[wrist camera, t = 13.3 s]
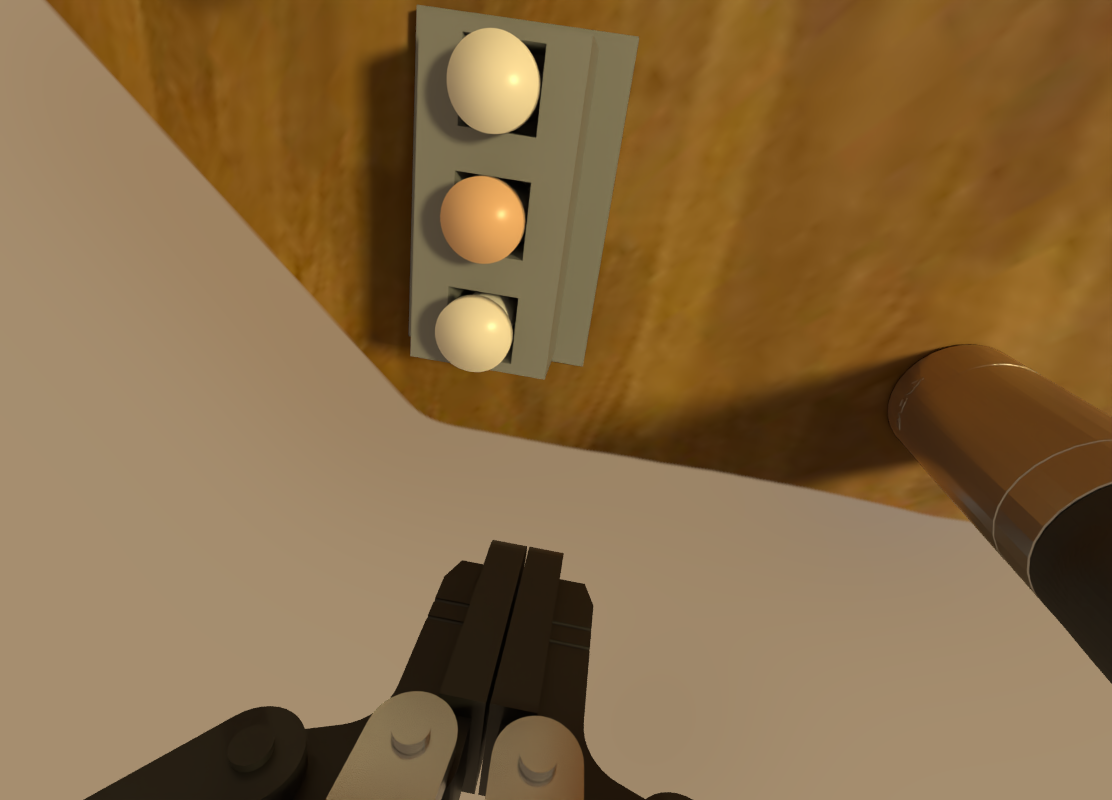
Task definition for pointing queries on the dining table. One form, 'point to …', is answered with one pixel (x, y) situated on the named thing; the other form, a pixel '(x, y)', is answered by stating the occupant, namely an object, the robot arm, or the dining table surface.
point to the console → (537, 162)
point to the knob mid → (485, 217)
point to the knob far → (476, 330)
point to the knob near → (494, 81)
